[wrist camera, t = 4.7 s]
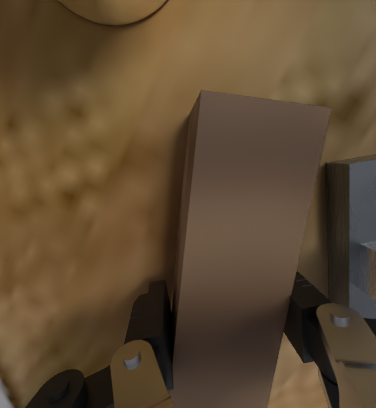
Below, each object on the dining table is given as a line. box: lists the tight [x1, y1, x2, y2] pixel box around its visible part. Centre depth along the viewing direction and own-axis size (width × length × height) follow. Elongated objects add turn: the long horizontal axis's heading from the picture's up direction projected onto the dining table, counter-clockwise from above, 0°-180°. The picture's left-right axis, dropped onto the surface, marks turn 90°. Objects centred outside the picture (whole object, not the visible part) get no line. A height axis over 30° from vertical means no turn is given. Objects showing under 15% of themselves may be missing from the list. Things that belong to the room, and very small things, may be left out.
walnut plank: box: [167, 90, 331, 408], centre depth 10 cm, size 16×4×4 cm, turn 174°
